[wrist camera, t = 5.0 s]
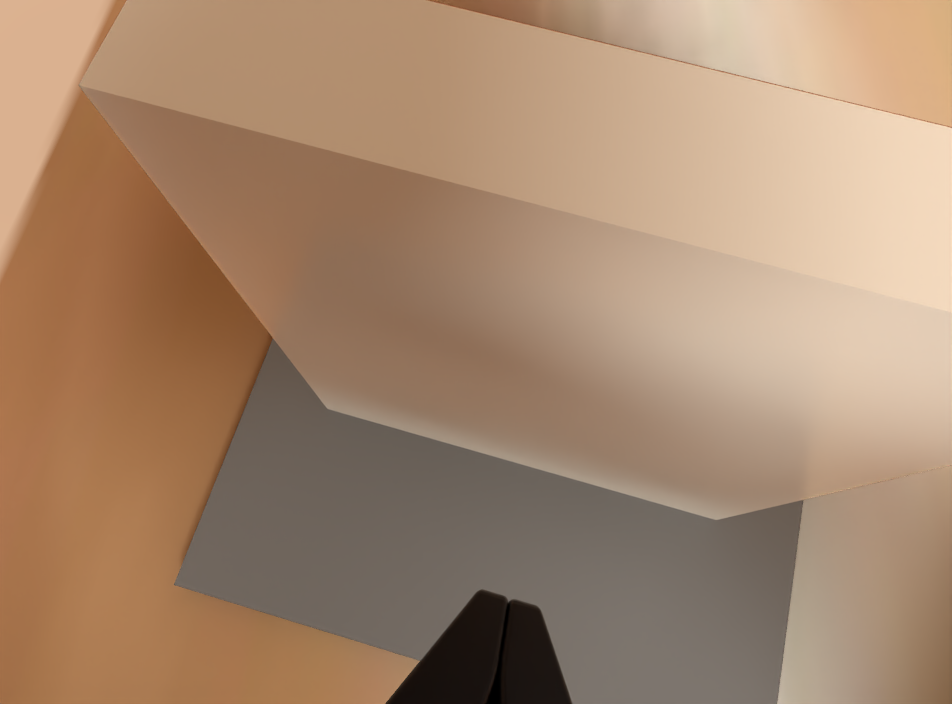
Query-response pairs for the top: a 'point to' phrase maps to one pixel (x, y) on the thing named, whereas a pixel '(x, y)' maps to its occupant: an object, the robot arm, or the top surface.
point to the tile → (558, 241)
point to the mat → (488, 554)
